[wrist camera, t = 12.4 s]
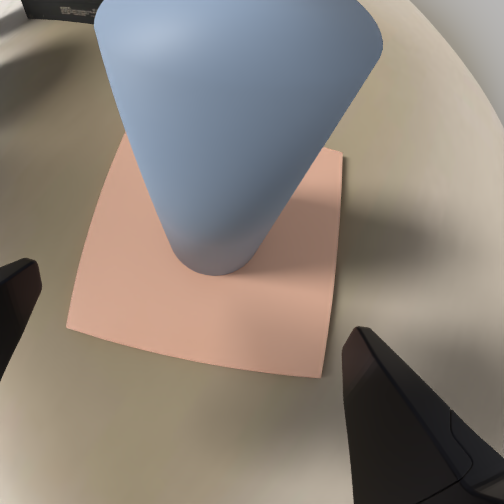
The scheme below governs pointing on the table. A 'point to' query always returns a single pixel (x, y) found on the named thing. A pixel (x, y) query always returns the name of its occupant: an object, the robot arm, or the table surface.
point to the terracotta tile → (212, 280)
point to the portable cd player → (62, 10)
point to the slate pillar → (230, 107)
